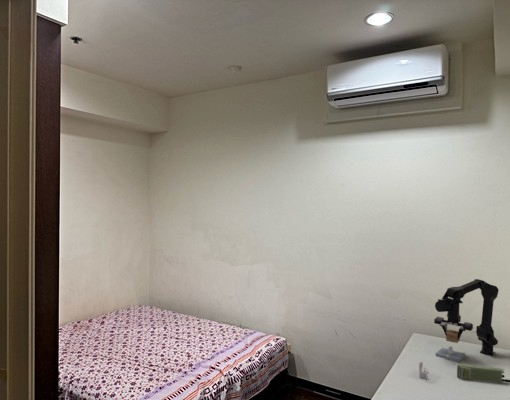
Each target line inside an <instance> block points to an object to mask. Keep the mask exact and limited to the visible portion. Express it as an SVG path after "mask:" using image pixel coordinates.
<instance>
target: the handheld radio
mask: <svg viewBox="0 0 510 400" xmlns="http://www.w3.org/2000/svg"><path fill="white" fill-rule="evenodd" d="M504 374H505V369H504V368H499V367H493V366H492V367H490V366H480V365H471V364H462V363H457V366H456V377H457V378H458V379H462V380H469V381H479V382H486V383H487V382H488V383H495V384H504V383H509V384H510V379H507V378H505V375H504Z"/></svg>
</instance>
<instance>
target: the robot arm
mask: <svg viewBox="0 0 510 400" xmlns="http://www.w3.org/2000/svg"><path fill="white" fill-rule="evenodd" d="M478 289H479V290H480V294H481V296H482V298H483V299H482V300H483V303H482V311H481V313H482V314H481V320H480V321H481V322H480V324H479V325H477V326H476V329H475V333H476V336H477V340H478V341H481V350H480V351H479V353H480V354H483V355H487V356H492V357H493V356H494V355H495V354H496V352H495V351H494V346H496V345H498V343H499V340H498V339H497V338H496V337H495V331H494V329H493V327H492V321H493V312H494V311H493V310H494V301H495V300H496V299H497V298H498V294H499V288H498V287H497V286H496V285H493V284H490V283H488V282H486V281H485V280H483V279H479V278H475V279H474V280H471V281H469V282H467V283H464V284H462V285H460V286H451V287H448V288H447V289H446V291H445V293H444V294H443V296H442V298H441V299H439V298H438V299H437V301H436V302H435V304H434V307H435V310H436V311H437V312H439V313H444V312H445V313H446V317H447V319H445V318H444V317H441V316H436V317H435V318H434V320H433V321H434V324H436V325H439V326H440V327H441V328H442V330H443V332H444V334H445V336H446V332H447V331H448V330H449V329H448V325H451V326H455V327H459V328H458V331H459V334H458V340H459V341H460V339H461V336H462V335H463V332H466V331H470V332H471V331H472V330H473V329H474V325H473V322H472V323H471V322H467V321H466V322H464V323H462V322H461V321H462V319H461V318H462V316H461V315H460V304H464V301H462V300H461V299H462V298H465V295H466V294H468V293H471V292H473V291H475V290H478Z"/></svg>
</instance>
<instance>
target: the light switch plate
mask: <svg viewBox="0 0 510 400" xmlns="http://www.w3.org/2000/svg"><path fill="white" fill-rule="evenodd" d="M435 357H439V358H442V359H446V360H449V361H453V362H456V363H460V362H461V361H463V360H464V358H465V357H466V353H464V352H461V351H456V350H454V348H453V346H448V348H446V347H441V348H440V349H439V350H437V352H435Z"/></svg>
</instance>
